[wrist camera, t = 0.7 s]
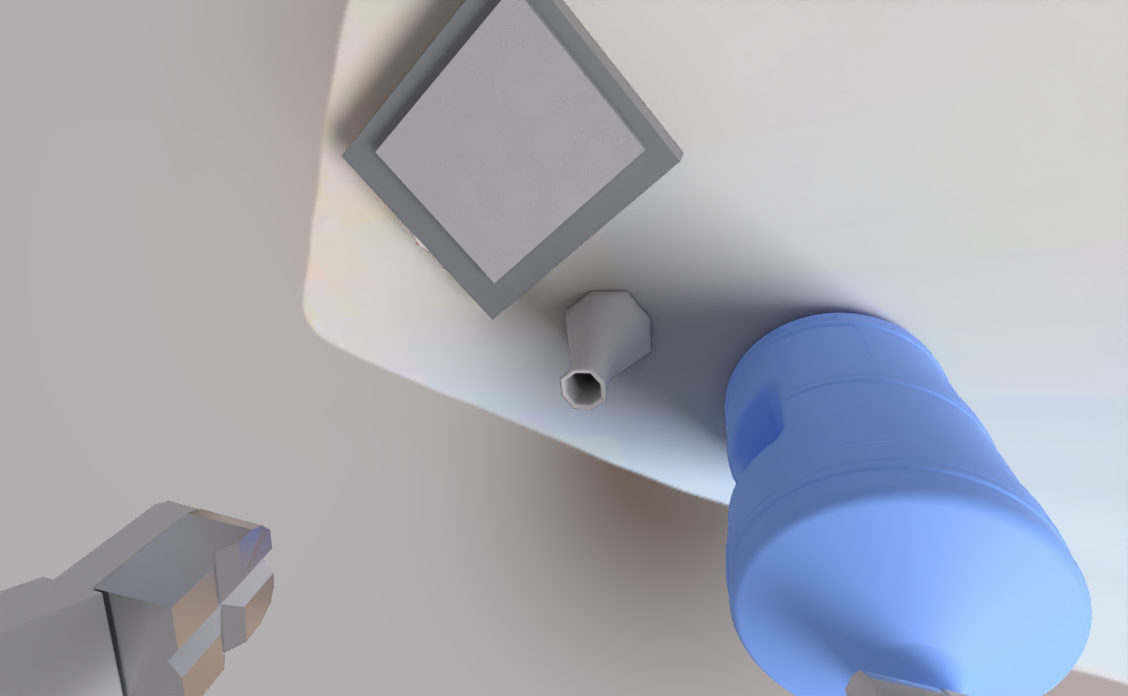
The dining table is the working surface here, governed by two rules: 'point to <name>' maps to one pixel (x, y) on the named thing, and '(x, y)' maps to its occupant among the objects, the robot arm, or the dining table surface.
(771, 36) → the dining table surface
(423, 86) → the base
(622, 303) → the flask
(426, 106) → the pan
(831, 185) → the dining table surface
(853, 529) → the water jug
